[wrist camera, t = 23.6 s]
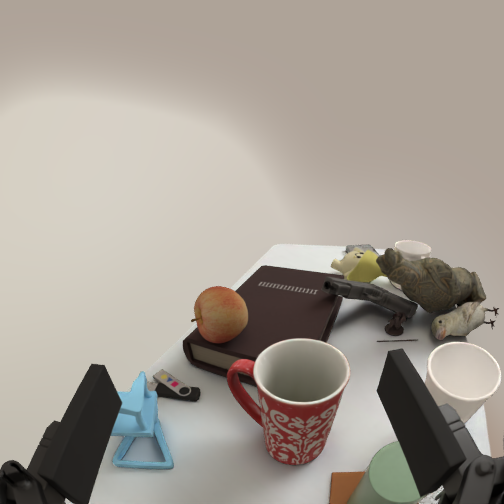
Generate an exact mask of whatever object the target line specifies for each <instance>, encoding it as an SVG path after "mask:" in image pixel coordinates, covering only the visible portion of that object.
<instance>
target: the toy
mask: <svg viewBox="0 0 504 504" xmlns="http://www.w3.org/2000/svg"><path fill="white" fill-rule="evenodd" d="M377 258H378V256H377V255H376V254H375V253H374V252H372V251H370V250H367V251H366V252H364V251H362V250H361V249H359V248H354V251H352V252H349V253H348V254H346V255H345V257H344V258H343V259H342V260H341V261H338V260H337V259H334V260H333V262H332V264H331V268H333V269H336V270H338V271H340V272H341V273H343V275H344V279H347V280H350V281H357V282H370V281H373V280H374V279H376V278H377V277H379V276H385V277H387V276H386V275H385V274H384V273H382V272H381V269H380V267H379V265H378V264H377V263H376V259H377Z"/></svg>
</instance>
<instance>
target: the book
mask: <svg viewBox="0 0 504 504" xmlns="http://www.w3.org/2000/svg"><path fill="white" fill-rule="evenodd" d="M326 277H333V278H339V279H344V275H336V274H328V273H320V272H312V271H304V270H297V269H289V268H281V267H273V266H266V265H265V266H261V267H260V268H259V269H258V270H257V271H256V272H255V273H254V274H253V275H252V276H251V277H250V278H249V279H247V280H246V281H245V282H244V283H243V284H242V285H241V286H240V287H239V288H238V289H237V290H236V291H235V292H236V293H237V294H239V295H240V297H241V298H242V299H243V300H244V302H245V304H246V307H247V310H248V322H247V325H246V327H245V328H244V329H243V330H242V331H241V333H240V334H239V335H237V336H236V337H235V338H233V339H231V340H230V341H227V342H224V343H212V342H209V341H207V340H206V339H205V338H204V337H203V336H202V335H201V334H200V332H199V329H198V327H197V328H196V329H195V330H194V331H193V332H192V333H191V334H190V335H189V336H187V337H186V338H185V339H184V340H183V350H184V353H185V355H186V357H187V359H188V361H189V362H190V363H191V364H192V365H194V366H196V367H198V368H201V369H204V370H207V371H210V372H213V373H215V374H218V375H222V376H225V377H227V373H228V370H229V369H230V367H231V366H232V364H233V363H234V362H236V361H237V360H240V359H248V360H251V361H254V362H255V361H256V359H257V358H258V356H259V355H260V354H261V353H262V352H263V351H264V350H265V349H266V348H268V347H269V346H271V345H273V344H275V343H278V342H280V341H284V340H288V339H301V338H303V339H313V340H318V341H322V342H325V343H327V340H328V338H329V335H330V333H331V330H332V327H333V325H334V322H335V319H336V317H337V314H338V311H339V309H340V306H341V303H342V299H343V297H341V296H338V295H335V294H328V293H326V292H324V291H322V290H321V289H322V286H323V284H324V281H325V278H326ZM237 375H238V378H239V381H240V382H244V383H247V384H250V385H254V386H257V384H256V382H255V380H254V379H253V378H252V377H251V376H249V375H248V374H245V373H243V372H237Z"/></svg>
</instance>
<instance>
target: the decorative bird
mask: <svg viewBox="0 0 504 504" xmlns="http://www.w3.org/2000/svg"><path fill="white" fill-rule="evenodd" d="M480 301H481V300H478V301H477V302H467V303H464V304H463V305H462V306H460V307H457V308H456V309H454V310H453V311H451V312H450V313H447V314H443V315H440V316H438V317H436V318H435V319H434V320H433V322H432V326H431V330H432V333H433V335H434V337H435V338H437V339H438V340H443V339H444V338H445V337H446V336H448V335H454V336H456V335H457V336H467V335H468V334H469V333H470V332H471V331H472V330H474V329H476V328H477V327H479V326H480V325H482V324H483V323H486V324H490V323H491V325H492V327H493V326H494V325H493V323H494V322H495V321H491V319H490V321H491V322H485V321H484V319H485V311H495V316H496V314H498V313H497V310H498V309H499V308H497V309H495V308H494V310H489V309H486V308H483V306H481V305H480V303H481V302H480Z"/></svg>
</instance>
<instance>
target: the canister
mask: <svg viewBox="0 0 504 504" xmlns="http://www.w3.org/2000/svg"><path fill="white" fill-rule="evenodd" d="M425 496H426V495H425ZM425 496H422V497H420V495H419V492H418V489H417V487H416V484H415V481H414V479H413V476H412V474H411V471H410V469H409V466H408V463H407V461H406V458H405V456H404V453H403V451H402V449H401V446H400V444H399V441H397V442H393V443H391V444H389V445H387V446H385V447H383V448H382V449H381V450H379V451H378V452H377V453H376V454H375V456H374V457H373V459H372V461H371V463H370V464H369V466H368V468H367V470H366V472H365V473H364V475H363V477H362V478H361V480H360V482H359V483H358V485H357V487H356V488H355V490H354V492H353V493H352V495H351V496H350V498H349V499H348V502H347V504H417V503H419V502H420V501H421V500H422V499H423V498H424V497H425Z"/></svg>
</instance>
